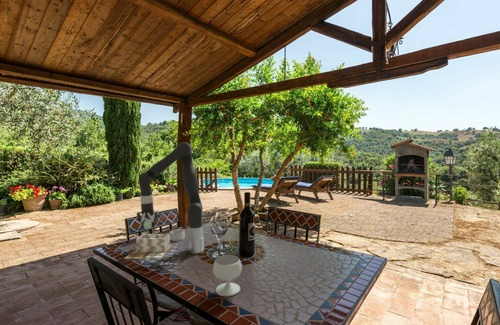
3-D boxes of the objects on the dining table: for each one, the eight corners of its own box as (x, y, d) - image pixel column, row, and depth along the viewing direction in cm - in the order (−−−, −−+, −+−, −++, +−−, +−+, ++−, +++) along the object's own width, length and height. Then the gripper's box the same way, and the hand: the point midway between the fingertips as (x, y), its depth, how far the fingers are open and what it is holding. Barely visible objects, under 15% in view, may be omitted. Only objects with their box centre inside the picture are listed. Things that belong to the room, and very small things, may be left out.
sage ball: (154, 227, 169) (154, 218, 169) (151, 229, 163) (150, 220, 163) (146, 227, 169) (145, 218, 169) (142, 230, 163) (141, 221, 163)
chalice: (207, 290, 121) (207, 260, 121) (229, 279, 131) (229, 251, 130) (225, 302, 111) (225, 269, 111) (248, 289, 121) (247, 259, 120)
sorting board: (174, 247, 179) (174, 233, 178) (162, 261, 156) (161, 244, 155) (140, 247, 180) (140, 233, 179) (123, 261, 157) (122, 245, 156)
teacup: (182, 243, 187) (182, 233, 186) (168, 243, 187) (167, 233, 187) (187, 237, 201) (187, 227, 200) (174, 237, 201) (173, 227, 201)
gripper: (159, 200, 169) (161, 225, 169) (138, 201, 169) (140, 225, 170) (155, 202, 161) (156, 228, 162) (133, 203, 162) (135, 229, 162)
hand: (148, 227), depth 166 cm, fingers closed on sage ball, 6 cm apart
